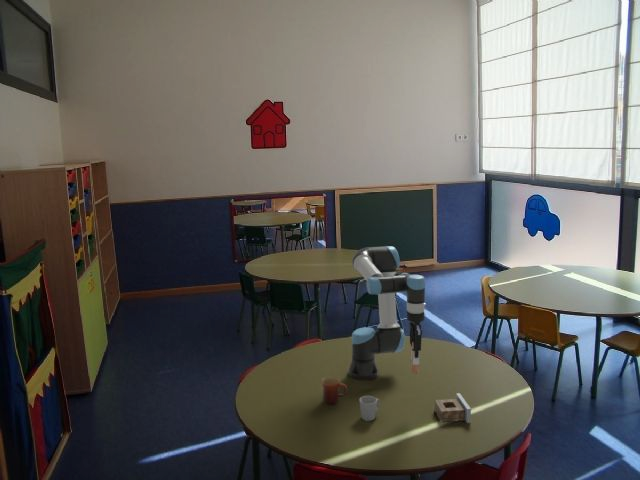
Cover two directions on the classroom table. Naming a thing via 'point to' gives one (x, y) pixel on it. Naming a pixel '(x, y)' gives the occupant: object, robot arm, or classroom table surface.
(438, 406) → the block
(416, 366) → the dowel
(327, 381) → the mug
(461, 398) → the base
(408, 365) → the classroom table surface
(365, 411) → the cup
